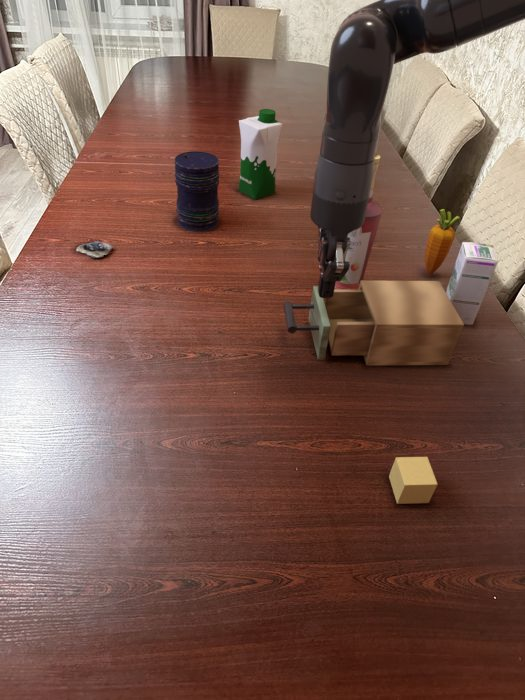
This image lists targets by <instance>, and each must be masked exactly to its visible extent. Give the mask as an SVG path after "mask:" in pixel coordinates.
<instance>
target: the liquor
mask: <svg viewBox="0 0 525 700" xmlns="http://www.w3.org/2000/svg"><path fill="white" fill-rule="evenodd" d="M380 161H381V155H380V154H377V153H376V154H375V159H374V172H373V180H372V185H371V190H370V195H369V200H368V205H367V210H366V216H365V221H364V224H363V225H362V226H361V227H360V228H359V229H357V230H354V231H352V232H350V233H349V234H348V237H350V247H349V250H348V251H347V253H346V258H345V261H346V262H349V264H350V267H349V270H348V271H347V273H346V274H345V276H344V277H343V278H342V280H341V281H336V282H335V288H334V289H348V290H359V285H360V281H361V280H364V277H365V274H366V271H367V266H368V263H369V260H370V255H371V253H372V249H373V246H374V242H375V239H376V236H377V232H378V229H379V225H380V221H381V217H382V214H383V206H381V204H380V203H379V202H378V201H377V200H376V199H374V198H373V197H374V189H375V181H376V174H377V171H378V169H379V165H380Z"/></svg>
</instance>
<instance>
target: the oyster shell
mask: <svg viewBox="0 0 525 700" xmlns="http://www.w3.org/2000/svg"><path fill="white" fill-rule="evenodd" d="M113 248H114V246H113V245H112V244H110V243H108V242H104V241H103V242H102V241H98V240H97V241H92V242H90V243H87V242H86V243H83V244H80V245H78V246H77V247H76V252H79V253H81V254H86V255H87V256H89V257H91V258H93V259H98V258H104V255H105V256H106V255H109V252H111V250H112V249H113Z"/></svg>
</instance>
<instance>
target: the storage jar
mask: <svg viewBox="0 0 525 700" xmlns="http://www.w3.org/2000/svg"><path fill="white" fill-rule="evenodd" d="M219 163H220V162H219V158H218V156H217V155H215V154H213V153H210V152H207V151H197V150H193V151H191V150H190V151H185V152H182V153H179V154H177V155H176V156H175V157H174V177H175V179H174V182H175V185H176V192H177V193H176V194H177V198H176V214H177V224H178V226H180V228H182V229H184V230H186V231H191V232H207V231H208V232H209V231H211V230H213V229H215V228H216V227H218V225H219V217H220V215H219V214H220V200H219V198H218V193H219V192H218V190H219V188H218V187H219V185H220V171H219V170H220V166H219Z"/></svg>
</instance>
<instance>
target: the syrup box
mask: <svg viewBox="0 0 525 700" xmlns="http://www.w3.org/2000/svg"><path fill="white" fill-rule="evenodd" d="M498 263H499V260H498V258H497V254H496V251H495V248H494V245H491V244H487V243H481V242H473V241H471V242H470V241H462V243H461V245H460V249H459V251H458V254H457V258H456V260H455V263H454V266H453V269H452V272H451V275H450V277H449V281H448V284H447V287H446V290H445V292H446V294H447V296H448V297H449V299H450V301H451V303H452V304H453V306H454V308H455V310H456V311H457V313H458V315H459V317H460V318H461V320H462V322H463V324H464V325H466V326H467V325H469V326H473V325H474V324H475V320H476V318H477V316H478V314H479V311H480V308H481V307H482V306H481V305H482V303H483V301H484V298H485V296H486V293H487V291H488V288H489V285H490V283H491V280H492V278H493V275H494V273H495V270H496V267H497V265H498Z"/></svg>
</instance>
